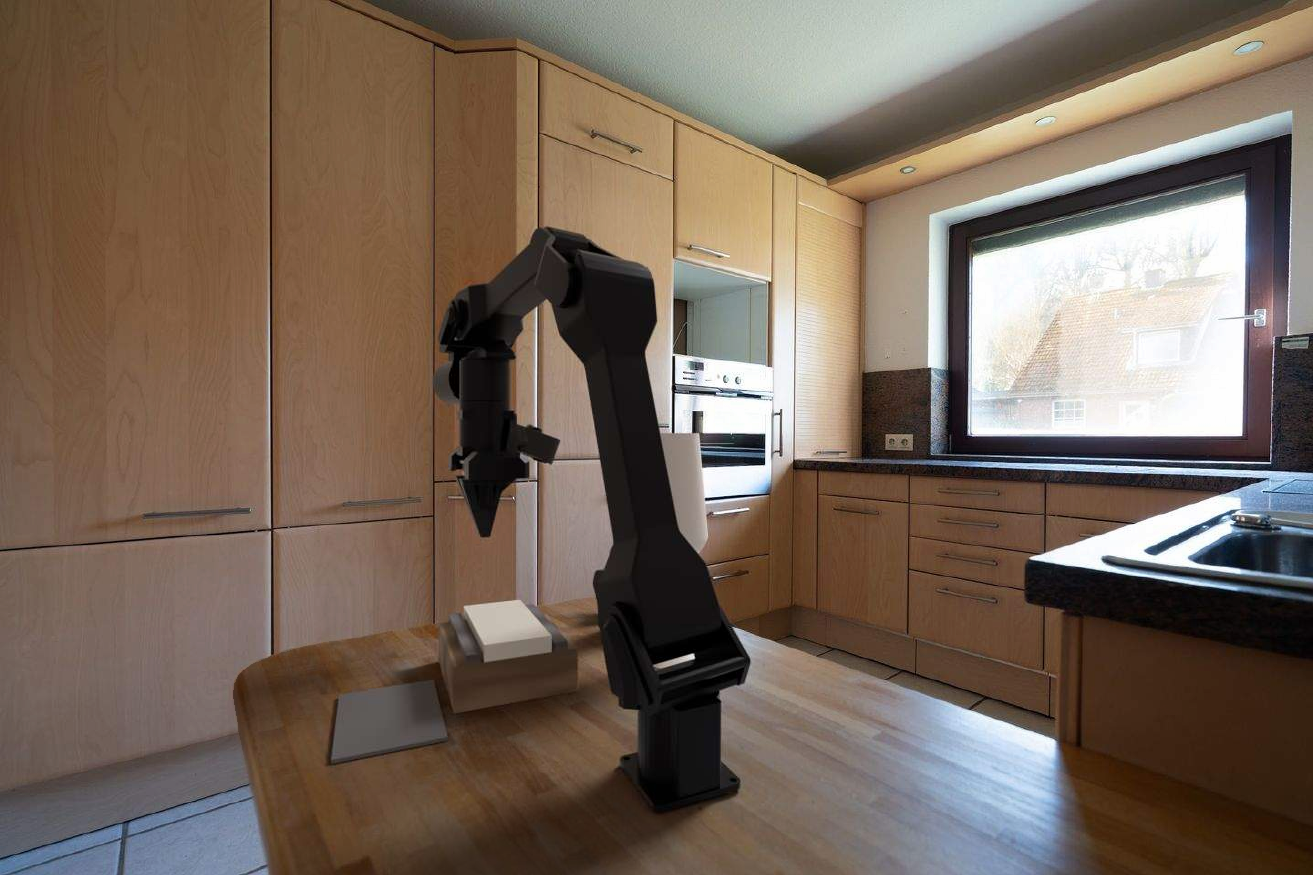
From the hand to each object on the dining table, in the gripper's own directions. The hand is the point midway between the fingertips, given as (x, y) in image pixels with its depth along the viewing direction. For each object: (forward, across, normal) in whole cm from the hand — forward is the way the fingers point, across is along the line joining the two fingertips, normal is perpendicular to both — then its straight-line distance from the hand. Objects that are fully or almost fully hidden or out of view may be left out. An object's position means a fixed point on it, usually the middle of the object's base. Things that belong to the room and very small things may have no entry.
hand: (484, 536), depth 70 cm
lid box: (+12, -12, 0) cm, 17 cm away
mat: (+12, -16, +10) cm, 23 cm away
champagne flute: (+12, -14, -18) cm, 26 cm away
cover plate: (+8, -12, 0) cm, 14 cm away
